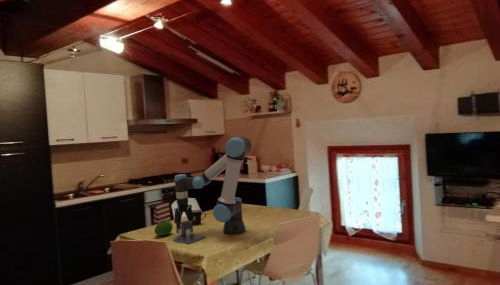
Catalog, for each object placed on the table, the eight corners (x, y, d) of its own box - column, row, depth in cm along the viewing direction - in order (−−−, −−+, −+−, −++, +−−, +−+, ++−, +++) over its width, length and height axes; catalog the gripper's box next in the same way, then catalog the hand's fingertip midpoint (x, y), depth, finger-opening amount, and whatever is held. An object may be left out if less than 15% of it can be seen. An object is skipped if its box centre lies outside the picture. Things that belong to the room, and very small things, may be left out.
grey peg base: (189, 235, 251) (189, 225, 250) (204, 238, 242) (204, 228, 242) (173, 241, 239) (172, 231, 239) (188, 244, 231) (188, 233, 231)
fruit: (162, 239, 246) (161, 223, 245) (150, 238, 250) (149, 223, 249) (176, 232, 260) (175, 218, 259) (164, 232, 264) (163, 217, 263)
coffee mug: (188, 224, 281) (187, 211, 280) (197, 222, 287) (196, 209, 287) (198, 226, 273) (197, 213, 272) (207, 224, 279) (206, 210, 279)
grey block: (185, 230, 257) (184, 219, 257) (192, 231, 253) (192, 221, 252) (176, 233, 251) (176, 222, 251) (184, 234, 247) (183, 223, 246)
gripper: (189, 194, 262) (192, 227, 262) (166, 200, 246) (169, 235, 246) (197, 195, 257) (200, 228, 258) (174, 201, 241) (177, 236, 242)
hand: (185, 231), depth 252 cm, fingers closed on grey block, 8 cm apart
